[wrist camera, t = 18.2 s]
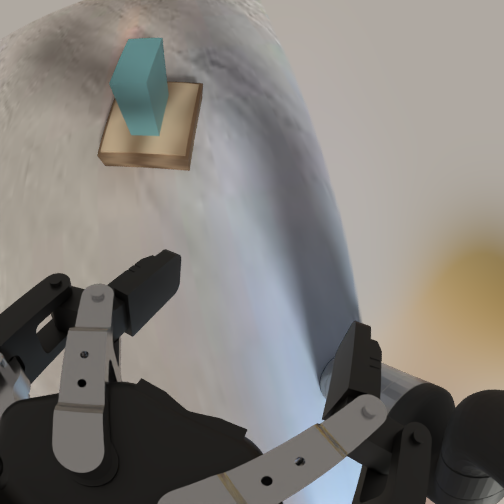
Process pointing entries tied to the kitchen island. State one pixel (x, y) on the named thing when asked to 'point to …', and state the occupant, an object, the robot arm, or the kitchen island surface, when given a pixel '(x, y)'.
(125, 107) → the teal rectangular block
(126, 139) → the block
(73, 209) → the kitchen island surface
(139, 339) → the kitchen island surface
